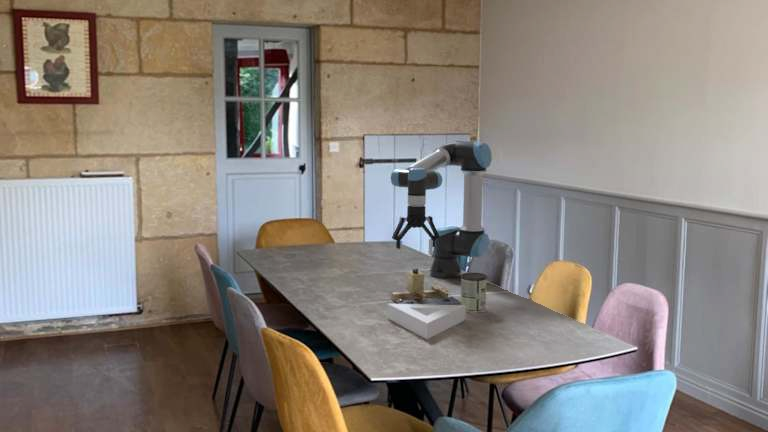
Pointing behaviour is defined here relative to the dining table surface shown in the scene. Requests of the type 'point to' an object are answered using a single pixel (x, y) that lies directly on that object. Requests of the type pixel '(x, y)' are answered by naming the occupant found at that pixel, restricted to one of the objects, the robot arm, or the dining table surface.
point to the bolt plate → (431, 301)
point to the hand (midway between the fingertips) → (415, 255)
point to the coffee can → (473, 292)
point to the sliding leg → (416, 282)
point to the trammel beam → (433, 293)
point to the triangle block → (426, 317)
